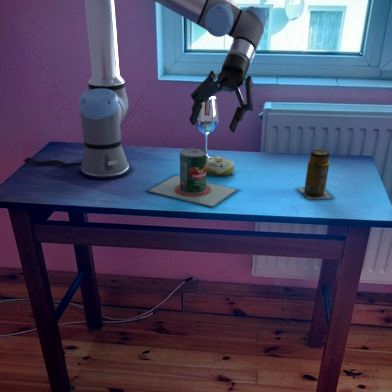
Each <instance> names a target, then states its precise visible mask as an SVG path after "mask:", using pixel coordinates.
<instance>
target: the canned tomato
mask: <svg viewBox="0 0 392 392" xmlns="http://www.w3.org/2000/svg"><path fill="white" fill-rule="evenodd" d="M207 155H208V150H207V151H206V150H205V148H201V147H185V148H182V149H180V150H179V176H180V190H181V191H182V192H184V193H187V194H199V193H202V192H204V191H206V182H207V174H206V170H207V169H206V167H207Z"/></svg>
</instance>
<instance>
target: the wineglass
mask: <svg viewBox="0 0 392 392" xmlns="http://www.w3.org/2000/svg"><path fill="white" fill-rule="evenodd" d="M201 104H202V105H203V106H202V109H201V111H200V113H199V116H198V118H197V121H196V123H195V125H194V126H195V128H196V130H197V131H198V132H199V133H201V134H203V135H204V150H206V151H207V152H208V137H209V135H210V134H212V133H213V132H214V131H216V129H217V128H218V126H219V110H218V103H217V98H216V96H215V95H213V96H211V97H210V98H208V99H207V100H206V101H204V102H203V103H201ZM209 157H213V156H212V155H209V154H207V158H209Z"/></svg>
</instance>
